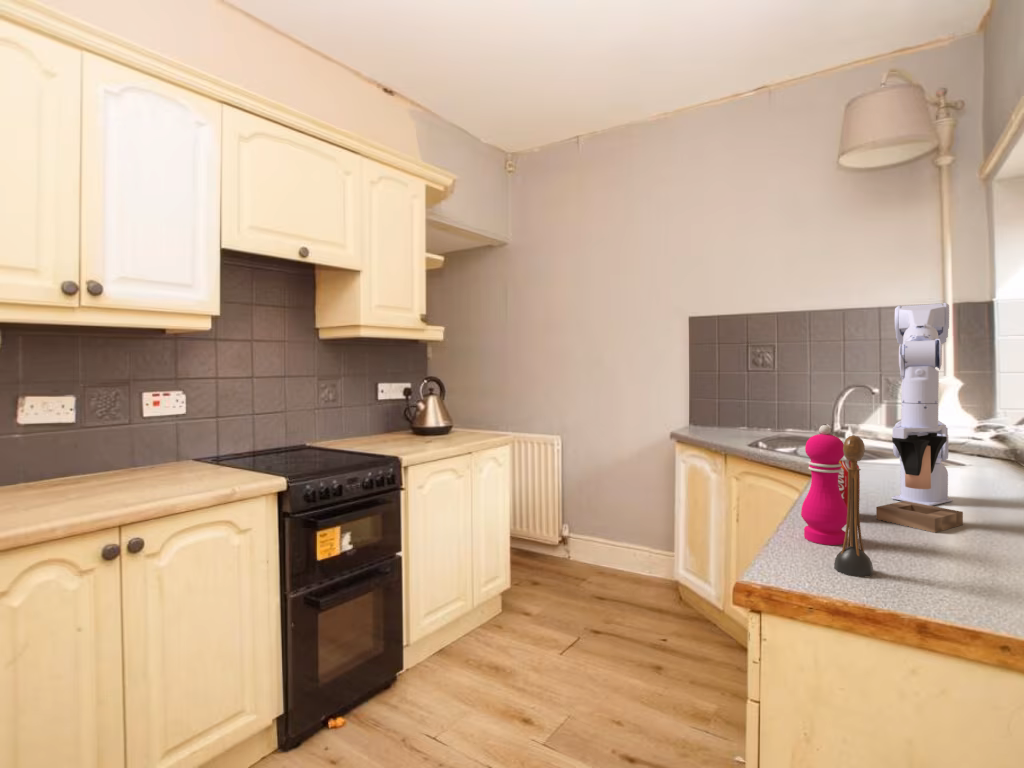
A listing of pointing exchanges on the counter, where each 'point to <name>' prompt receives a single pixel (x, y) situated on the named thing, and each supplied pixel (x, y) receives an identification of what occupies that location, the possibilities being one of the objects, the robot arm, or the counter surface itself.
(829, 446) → the pepper mill
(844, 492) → the soda can
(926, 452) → the peg
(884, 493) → the counter surface
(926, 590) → the counter surface
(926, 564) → the counter surface
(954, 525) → the socket block
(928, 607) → the counter surface
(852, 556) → the wooden tabletop sculpture
